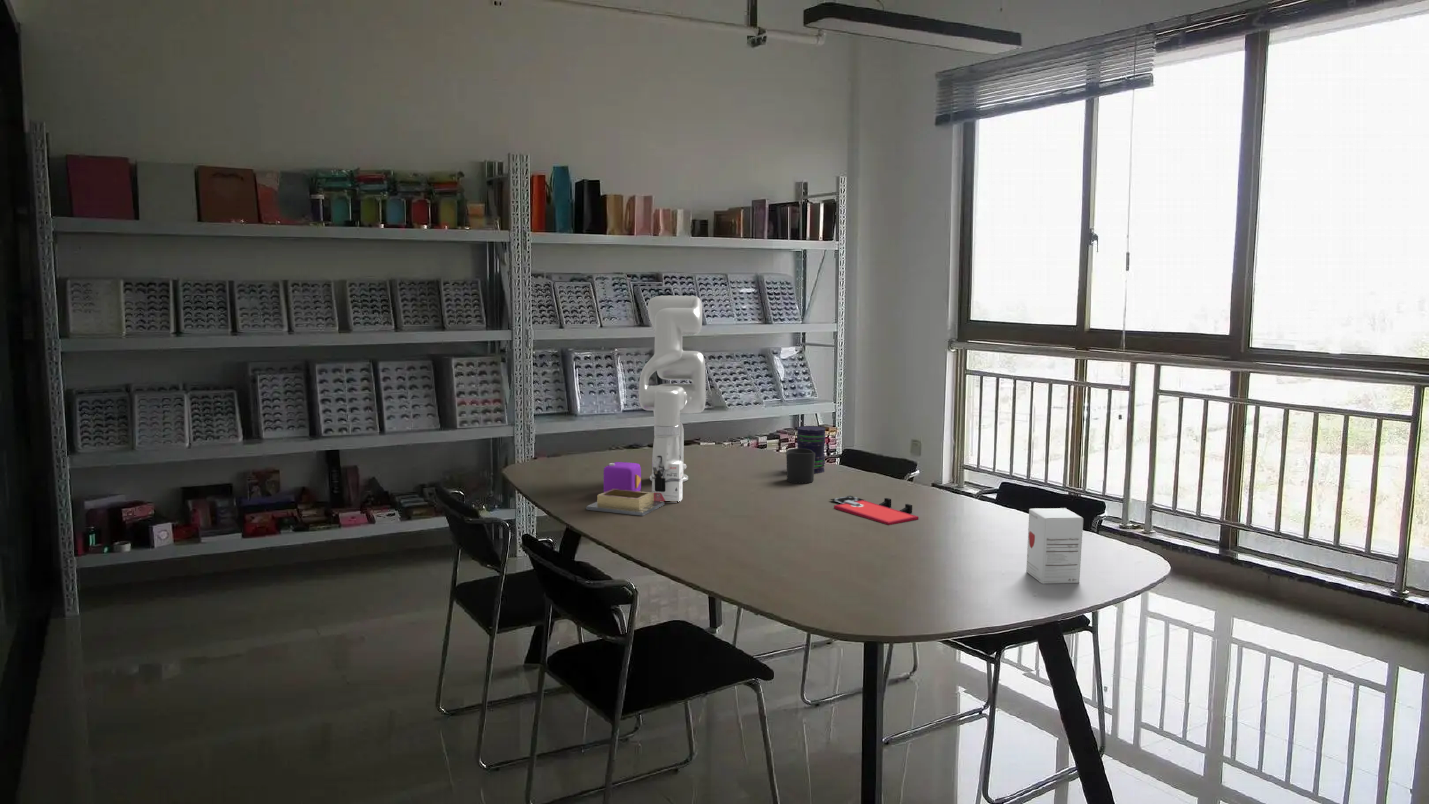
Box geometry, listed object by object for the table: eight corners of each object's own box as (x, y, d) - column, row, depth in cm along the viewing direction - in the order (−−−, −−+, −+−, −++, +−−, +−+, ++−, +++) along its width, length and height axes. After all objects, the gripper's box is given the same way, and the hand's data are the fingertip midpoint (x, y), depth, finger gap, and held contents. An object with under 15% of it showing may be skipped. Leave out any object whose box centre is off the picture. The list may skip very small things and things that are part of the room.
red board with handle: (855, 497, 297) (817, 504, 289) (855, 488, 296) (817, 495, 288) (927, 519, 272) (888, 527, 264) (928, 509, 272) (889, 517, 264)
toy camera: (645, 489, 306) (645, 458, 305) (637, 499, 292) (637, 466, 291) (611, 488, 307) (611, 457, 306) (602, 498, 293) (601, 465, 292)
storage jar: (797, 467, 342) (797, 425, 341) (825, 468, 341) (826, 426, 339) (795, 473, 333) (796, 429, 331) (824, 474, 331) (825, 430, 329)
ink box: (650, 501, 289) (650, 462, 288) (654, 498, 294) (654, 459, 292) (679, 503, 288) (679, 463, 286) (682, 499, 293) (682, 460, 291)
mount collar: (609, 499, 291) (609, 486, 291) (664, 505, 285) (664, 491, 284) (586, 509, 279) (586, 496, 278) (642, 515, 272) (642, 501, 271)
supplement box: (1024, 571, 223) (1027, 507, 221) (1062, 571, 223) (1066, 507, 222) (1041, 584, 214) (1044, 517, 212) (1080, 583, 214) (1084, 517, 213)
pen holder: (819, 480, 321) (820, 450, 320) (806, 485, 313) (807, 454, 312) (794, 477, 326) (794, 447, 325) (780, 481, 318) (781, 451, 317)
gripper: (668, 426, 298) (667, 481, 300) (642, 434, 282) (642, 492, 284) (690, 427, 295) (690, 483, 297) (665, 436, 279) (665, 495, 281)
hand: (666, 488), depth 290 cm, fingers open, 8 cm apart
